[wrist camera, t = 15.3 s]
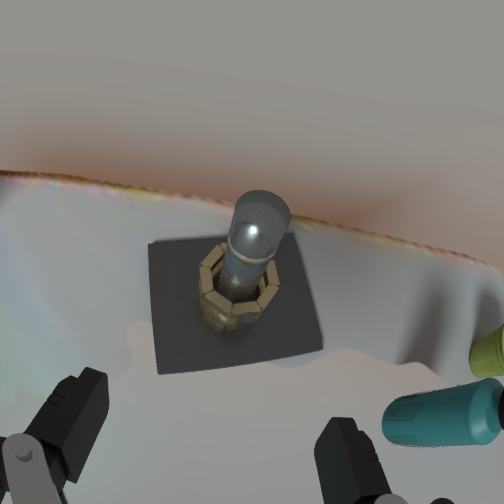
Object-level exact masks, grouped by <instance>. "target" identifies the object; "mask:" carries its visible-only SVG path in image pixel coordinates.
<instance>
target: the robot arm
mask: <svg viewBox="0 0 504 504" xmlns="http://www.w3.org/2000/svg"><path fill="white" fill-rule="evenodd" d="M108 410H109V393H108V377H107V374H106V373H103V372H100V371H97V370H95V369H92V368H89V367H86V368H84V370H83V371H82V373H81V374H80V376H79V377H78V378H76V377H74V376H71V375H70V376H69V377H67V378H65V379H64V380H62V381H60V382H59V383H58V385H57V386H56V387H55V389H54V390H53V392H52V394H50V396H49V397H48V399H47V401H46V402H45V403H44V404H43V406H42V407H41V409H40V410H39V411H38V413H37V415H36V416H35V417H34V419H33V420H32V422H31V423H30V425H29V426H28V428H27V429H26V430H25V432H23V433H19V434H13V435H11V436H9V437H8V438H5V437H0V504H1V502H2V500H3V498H4V495H5V493H6V491H8V492H10V494H11V498H12V502H13V504H69V503H68V501H67V498H66V496H65V493H64V490H63V487H64V485H65V483H66V480H68V481H71V482H73V483H75V484H76V483H77V481H78V479H79V476H80V474H81V472H82V469H83V467H84V465H85V462H86V460H87V458H88V456H89V453H90V451H91V449H92V447H93V445H94V442H95V440H96V438H97V436H98V433H99V432H100V429H101V427H102V425H103V423H104V421H105V419H106V417H107V414H108ZM314 456H315V461H316V466H317V471H318V475H319V481H320V485H321V490H322V495H323V500H324V504H407V502H406V501H405V500H404V499H403V498H402V497H400V496H398V495H395V494H392V492H391V490H390V487H389V485H388V482H387V479H386V477H385V474H384V472H383V469H382V466H381V464H380V462H379V461H378V460H379V459H378V456H377V454H376V453H375V449H374V446H373V443H372V441H371V439H370V438H369V437H368V436H367V435H366V434H365V433H364V431H358V428H357V425H356V423H355V421H354V419H353V418H346V417H332V418H331V419H330V421H329V422H328V424H327V425H326V427H325V429H324V430H323V432H322V433H321V435H320V437H319V438H318V440H317V441H316V444H315V448H314ZM431 504H454V503H453V502H452V501H451V500H449V499H446V498H438V499H436V500H434V501H433V502H432V503H431Z"/></svg>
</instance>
